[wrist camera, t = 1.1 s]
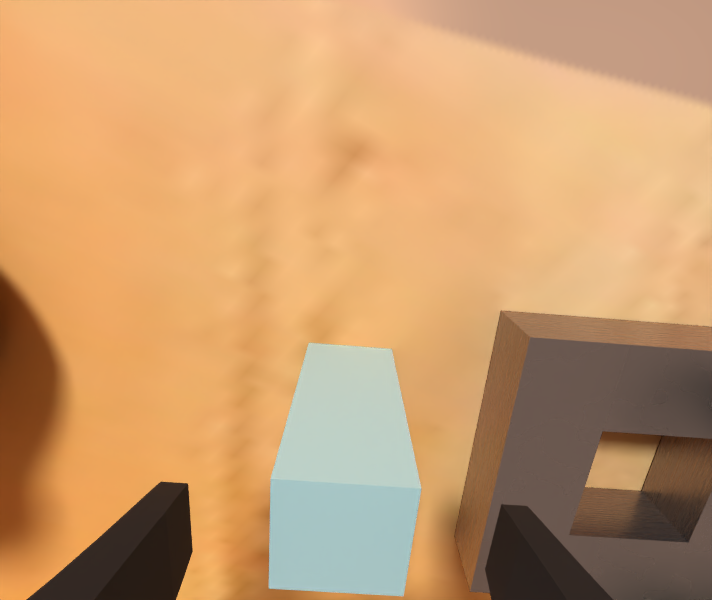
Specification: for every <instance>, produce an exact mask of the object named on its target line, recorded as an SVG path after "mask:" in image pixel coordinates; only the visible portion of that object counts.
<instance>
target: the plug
mask: <svg viewBox="0 0 712 600" xmlns="http://www.w3.org/2000/svg"><path fill="white" fill-rule="evenodd" d="M420 493H421V485H420V480H419V475H418V471H417V466H416V461H415V457H414V452H413V447H412V442H411V438H410V433H409V428H408V424H407V419H406V414H405V409H404V405H403V400H402V395H401V391H400V386H399V381H398V377H397V372H396V367H395V362H394V358H393V353H392V349H385V348H372V347H358V346H345V345H331V344H318V343H309V344H308V348H307V351H306V355H305V358H304V362H303V366H302V369H301V373H300V376H299V380H298V383H297V387H296V390H295V394H294V398H293V401H292V405H291V408H290V412H289V415H288V419H287V422H286V426H285V430H284V433H283V437H282V440H281V444H280V447H279V451H278V454H277V458H276V462H275V465H274V469H273V472H272V476H271V487H270V545H269V589H285V590H302V591H320V592H338V593H355V594H373V595H390V596H404V590H405V584H406V578H407V572H408V566H409V560H410V554H411V548H412V542H413V536H414V530H415V524H416V518H417V511H418V505H419V499H420Z"/></svg>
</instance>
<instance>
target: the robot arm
mask: <svg viewBox="0 0 712 600" xmlns="http://www.w3.org/2000/svg"><path fill="white" fill-rule="evenodd" d="M191 554H192V536H191V521H190V506H189V491H188V484H187V483H172V482H160V483H159V484H158V485H157V486H155V487H154V488H153V489H152V490H151V491H150V492H149V493H148V494H146V495H145V496H144V497H143V498H142V499H141V500H140V501H139V502H138V503H137V504H136V505H134V506H133V507H132V508H131V509H130V510H129V511H128V512H127V513H126V514H125V515H124V516H122V517H121V518H120V519H119V520H118V521H117V522H116V523H115V524H114V525H113V526H111V527H110V528H109V529H108V530H107V531H106V532H105V533H104V534H103V535H102V536H100V537H99V538H98V539H97V540H96V541H95V542H94V543H92V544H91V545H90V546H89V547H88V548H87V549H86V550H84V551H83V552H82V553H81V554H80V555H79V556H78V557H76V558H75V559H74V560H73V561H72V562H71V563H70V564H69V565H67V566H66V567H65V568H64V569H63V570H62V571H60V572H59V573H58V574H57V575H56V576H55V577H53V578H52V579H51V580H50V581H49V582H47V583H46V584H45V585H44V586H43V587H41V588H40V589H39V590H38V591H37V592H35V593H34V594H33V595H32V596H30V597H29V598H28V599H27V600H176V598H177V595H178V592H179V589H180V586H181V584H182V581H183V578H184V575H185V572H186V569H187V566H188V563H189V560H190V557H191ZM485 572H486V577H487V581H488V586H489V590H490V595H491V599H492V600H613V599H612V598H611V597H610V596H609V595H608V593H607V592H606V591H605V590H604V589H603V588H602V587H601V586H600V585H599V584H598V583H597V582H596V581H595V580H594V578H593V577H592V576H591V575H590V574H589V573H588V572H587V571H586V570H585V569H584V568H583V567H582V565H581V564H580V563H579V562H578V561H577V560H576V559H575V558H574V557H573V556H572V554H571V553H570V552H569V551H568V550H567V549H566V548H565V547H564V546H563V545H562V543H561V542H560V541H559V540H558V539H557V538H556V537H555V536H554V535H553V533H552V532H551V531H550V530H549V529H548V528H547V527H546V526H545V525H544V523H543V522H542V521H541V520H540V519H539V518H538V517H537V516H536V515H535V514H534V513H533V511H532V510H531V509H530V508H529V507H528V506H521V505H506V504H501V507H500V511H499V515H498V519H497V523H496V527H495V531H494V535H493V539H492V543H491V547H490V551H489V555H488V559H487V563H486V567H485Z"/></svg>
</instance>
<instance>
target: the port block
mask: <svg viewBox="0 0 712 600" xmlns="http://www.w3.org/2000/svg"><path fill="white" fill-rule="evenodd" d="M603 431H606V432H621V433H635V434H649V435H663V436H662V439H661V442H660V444H659V447H658V449H657V452H656V455H655V457H654V460H653V462H652V465H651V468H650V470H649V473H648V476H647V478H646V481H645V483H644V486H643V489H642V491H632V490H616V489H601V488H586V487H585V484H586V481H587V478H588V475H589V472H590V469H591V466H592V463H593V459H594V456H595V453H596V450H597V447H598V444H599V441H600V438H601V435H602V432H603ZM501 504H506V505H521V506H528V507H529V508H530V509H531V510H532V511H533V513H534V514H535V515H536V516H537V517H538V518H539V519H540V520H541V521H542V522H543V523H544V525H545V526H546V527H547V528H548V529H549V530H550V531H551V532H552V533H553V535H554V536H555V537H556V538H557V539H558V540H559V541H560V542H561V543H562V545H563V546H564V547H565V548H566V549H567V550H568V551H569V552H570V553H571V554H572V556H573V557H574V558H575V559H576V560H577V561H578V562H579V563H580V564H581V565H582V567H583V568H584V569H585V570H586V571H587V572H588V573H589V574H590V575H591V576H592V577H593V578H594V580H595V581H596V582H597V583H598V584H599V585H600V586H601V587H602V588H603V589H604V590H605V591H606V592H607V593H608V595H609V596H610V597H611V598H612V599H613V600H712V327H705V326H692V325H680V324H667V323H654V322H641V321H628V320H615V319H602V318H589V317H576V316H563V315H550V314H537V313H524V312H511V311H501V314H500V319H499V324H498V328H497V333H496V338H495V343H494V348H493V353H492V357H491V362H490V367H489V372H488V377H487V381H486V386H485V391H484V396H483V401H482V406H481V410H480V415H479V420H478V425H477V430H476V434H475V439H474V444H473V449H472V454H471V459H470V463H469V468H468V473H467V478H466V483H465V487H464V492H463V497H462V502H461V507H460V512H459V516H458V521H457V526H456V531H455V540H456V543H457V547H458V551H459V554H460V558H461V561H462V565H463V569H464V572H465V576H466V580H467V583H468V587H469V590H470V592H483V593H490V590H489V586H488V581H487V577H486V572H485V567H486V563H487V559H488V555H489V551H490V547H491V543H492V539H493V535H494V531H495V527H496V523H497V519H498V515H499V511H500V507H501Z"/></svg>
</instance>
